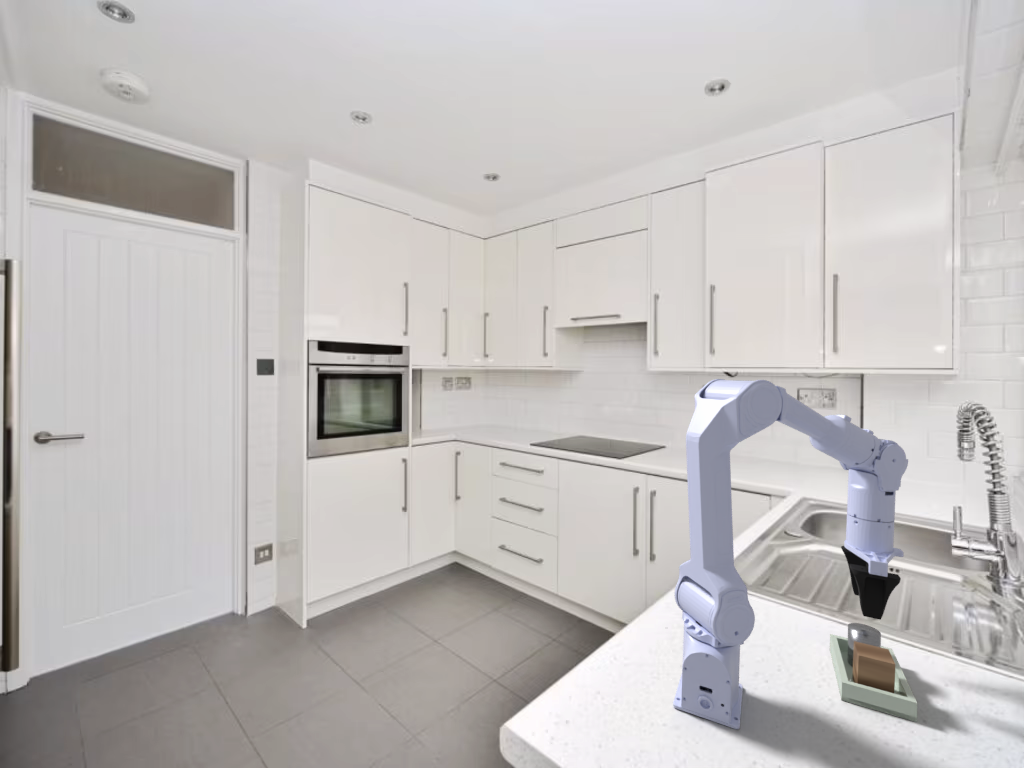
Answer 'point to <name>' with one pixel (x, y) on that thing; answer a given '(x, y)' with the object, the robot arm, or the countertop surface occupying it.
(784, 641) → the countertop surface
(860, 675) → the walnut block
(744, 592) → the robot arm
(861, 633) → the steel cylinder
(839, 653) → the tray
